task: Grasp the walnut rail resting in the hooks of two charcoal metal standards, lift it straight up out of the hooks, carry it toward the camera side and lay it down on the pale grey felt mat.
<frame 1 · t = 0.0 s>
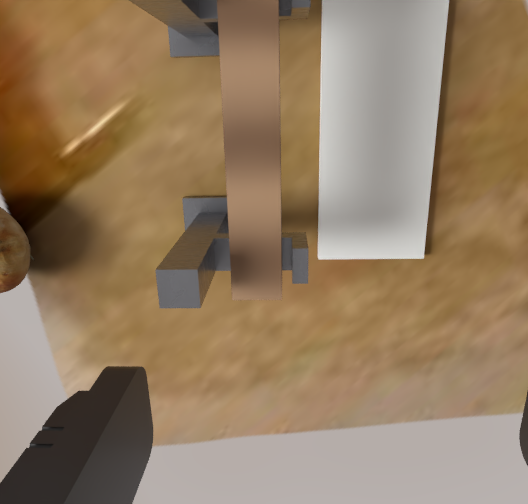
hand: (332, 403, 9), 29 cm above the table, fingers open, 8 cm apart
onion: (7, 237, 40), on the table
mat: (377, 113, 35), on the table
standard 1: (214, 224, 39), on the table
standard 2: (202, 20, 33), on the table
rail: (255, 136, 28), point 8 cm above the table, touching standard 2, standard 1
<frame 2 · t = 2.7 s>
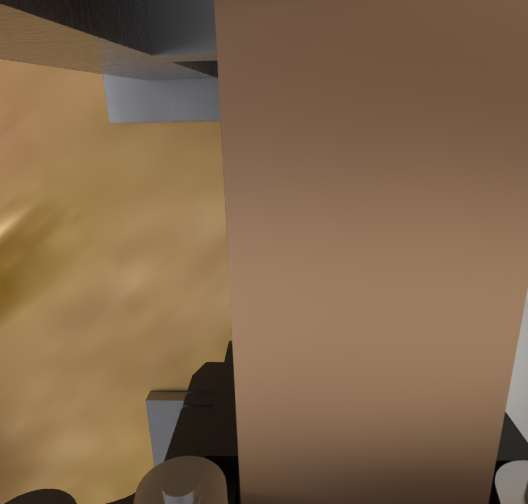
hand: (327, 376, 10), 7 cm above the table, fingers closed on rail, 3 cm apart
standard 1: (211, 439, 20), on the table
standard 2: (181, 40, 14), on the table
rail: (334, 409, 9), point 8 cm above the table, touching gripper, standard 2, standard 1
when the fingers open (1 cm above the table, at t = 9.4 s): rail drops 2 cm, resting on mat.
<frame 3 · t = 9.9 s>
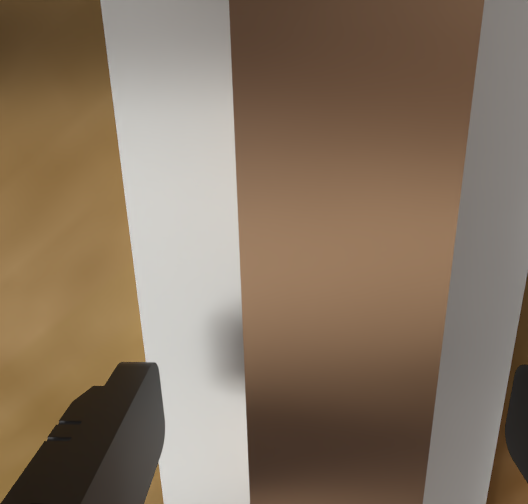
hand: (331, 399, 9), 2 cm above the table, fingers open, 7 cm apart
mat: (322, 342, 12), on the table
rail: (322, 357, 11), point 1 cm above the table, touching mat
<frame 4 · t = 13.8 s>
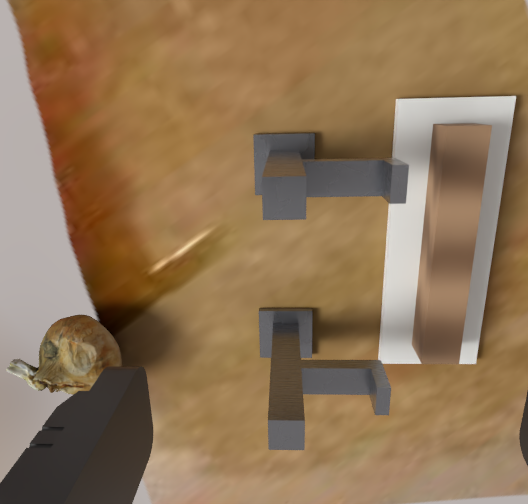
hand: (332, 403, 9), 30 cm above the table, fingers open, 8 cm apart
onion: (95, 339, 44), on the table
mat: (437, 241, 39), on the table
standard 1: (285, 331, 43), on the table
standard 2: (284, 164, 38), on the table
rail: (440, 243, 38), point 1 cm above the table, touching mat
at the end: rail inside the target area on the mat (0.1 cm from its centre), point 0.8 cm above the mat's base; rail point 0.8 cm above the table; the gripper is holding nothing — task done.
